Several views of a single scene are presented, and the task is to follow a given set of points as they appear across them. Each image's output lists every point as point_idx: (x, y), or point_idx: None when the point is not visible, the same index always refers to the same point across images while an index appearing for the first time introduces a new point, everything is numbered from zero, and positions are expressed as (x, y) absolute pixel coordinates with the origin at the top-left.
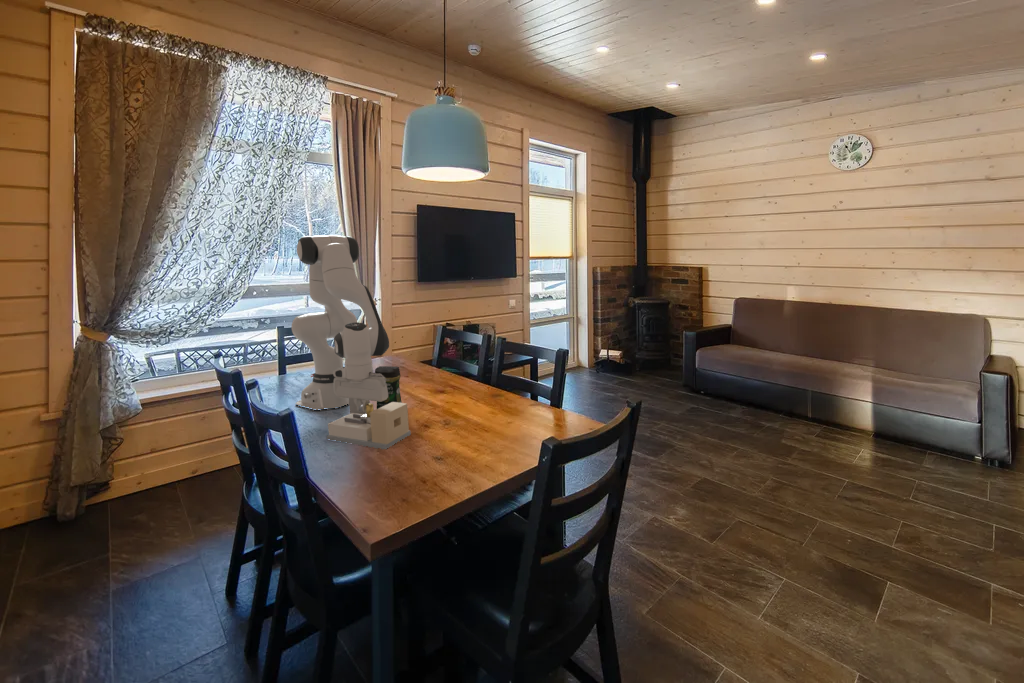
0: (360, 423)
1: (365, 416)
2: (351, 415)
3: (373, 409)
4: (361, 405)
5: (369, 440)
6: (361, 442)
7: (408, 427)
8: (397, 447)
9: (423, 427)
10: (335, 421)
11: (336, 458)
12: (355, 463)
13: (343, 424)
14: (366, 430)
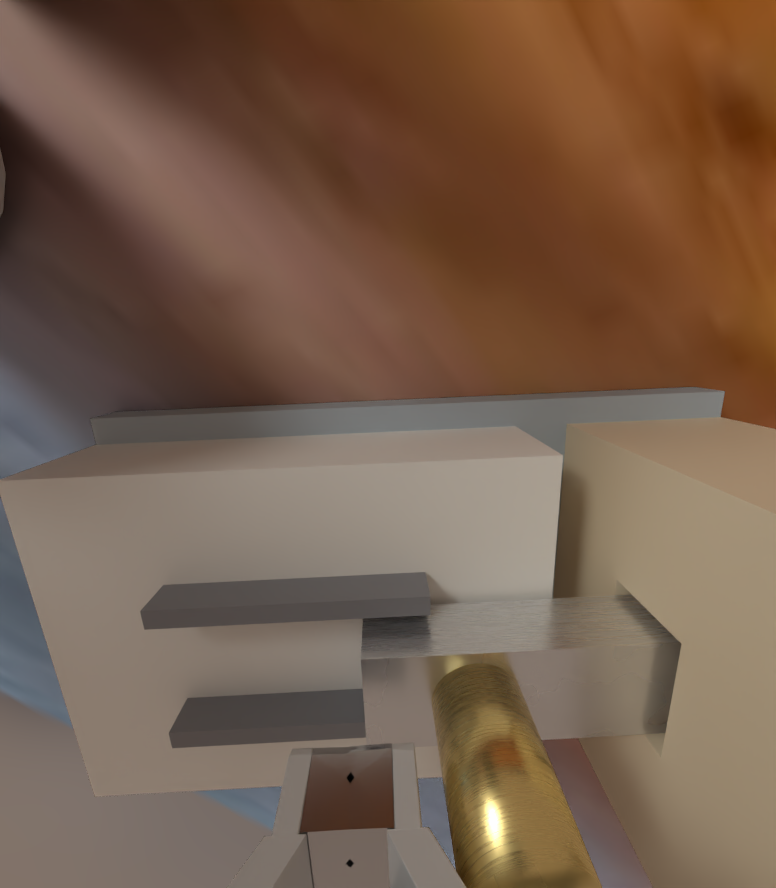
0: None
1: (432, 733)
2: (82, 556)
3: (553, 770)
4: (316, 847)
5: None
6: None
7: (755, 426)
8: None
9: (732, 177)
10: (104, 740)
11: (448, 825)
12: (585, 828)
13: (248, 764)
14: None
